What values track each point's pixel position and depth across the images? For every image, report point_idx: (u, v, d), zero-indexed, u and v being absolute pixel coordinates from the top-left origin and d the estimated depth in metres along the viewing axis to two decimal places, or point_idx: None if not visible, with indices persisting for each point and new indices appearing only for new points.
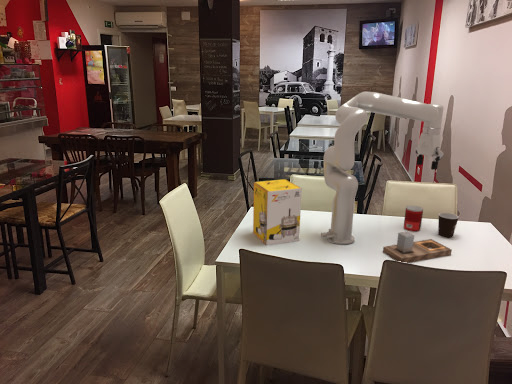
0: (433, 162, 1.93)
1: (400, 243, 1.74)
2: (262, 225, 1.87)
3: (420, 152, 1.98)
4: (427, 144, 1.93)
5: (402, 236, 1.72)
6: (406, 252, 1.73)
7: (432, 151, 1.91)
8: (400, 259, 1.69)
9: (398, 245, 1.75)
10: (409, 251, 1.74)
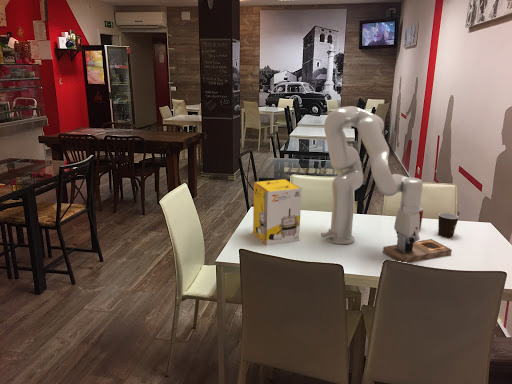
0: (407, 244, 1.71)
1: (400, 243, 1.74)
2: (262, 225, 1.87)
3: (397, 230, 1.74)
4: (405, 223, 1.69)
5: (402, 236, 1.72)
6: (406, 252, 1.73)
7: (410, 232, 1.67)
8: (400, 259, 1.69)
9: (398, 245, 1.75)
10: None
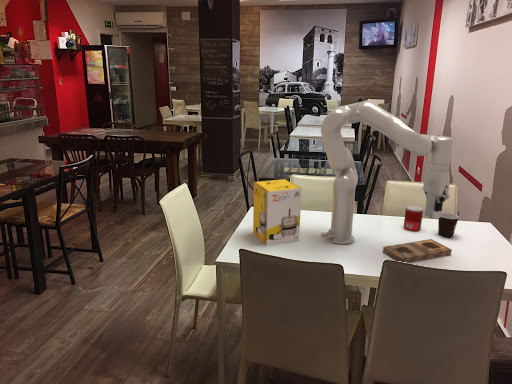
0: (437, 203, 1.71)
1: (429, 203, 1.74)
2: (262, 225, 1.87)
3: (426, 190, 1.74)
4: (434, 182, 1.69)
5: (431, 196, 1.72)
6: (435, 212, 1.73)
7: (440, 190, 1.67)
8: (400, 259, 1.69)
9: (427, 205, 1.75)
10: (438, 211, 1.73)
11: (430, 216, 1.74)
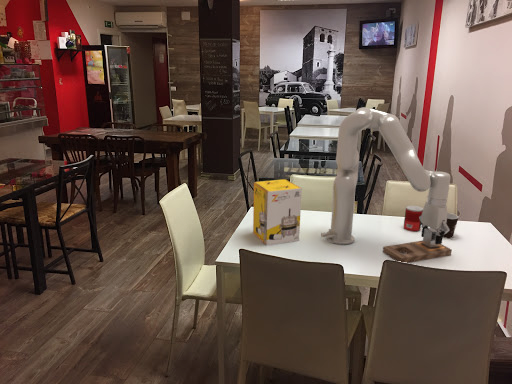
0: (437, 236, 1.74)
1: (426, 239, 1.79)
2: (262, 225, 1.87)
3: (424, 223, 1.78)
4: (432, 216, 1.74)
5: (428, 232, 1.77)
6: (432, 247, 1.78)
7: (438, 224, 1.72)
8: (400, 259, 1.69)
9: (424, 241, 1.80)
10: (435, 246, 1.78)
11: None
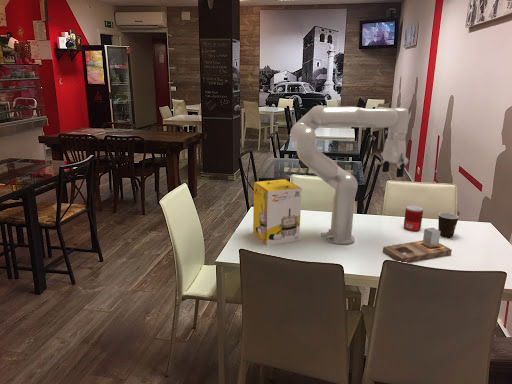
0: (398, 169, 1.81)
1: (426, 239, 1.79)
2: (262, 225, 1.87)
3: (385, 159, 1.86)
4: (392, 150, 1.82)
5: (428, 232, 1.77)
6: (432, 247, 1.78)
7: (397, 158, 1.80)
8: (400, 259, 1.69)
9: (424, 241, 1.80)
10: (435, 247, 1.78)
11: None
